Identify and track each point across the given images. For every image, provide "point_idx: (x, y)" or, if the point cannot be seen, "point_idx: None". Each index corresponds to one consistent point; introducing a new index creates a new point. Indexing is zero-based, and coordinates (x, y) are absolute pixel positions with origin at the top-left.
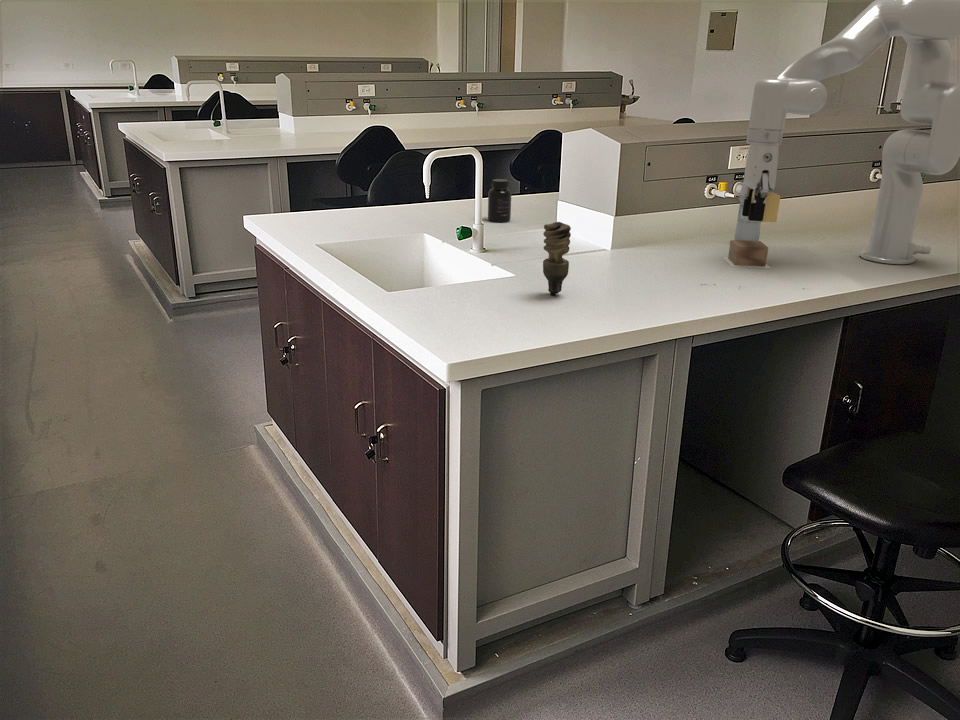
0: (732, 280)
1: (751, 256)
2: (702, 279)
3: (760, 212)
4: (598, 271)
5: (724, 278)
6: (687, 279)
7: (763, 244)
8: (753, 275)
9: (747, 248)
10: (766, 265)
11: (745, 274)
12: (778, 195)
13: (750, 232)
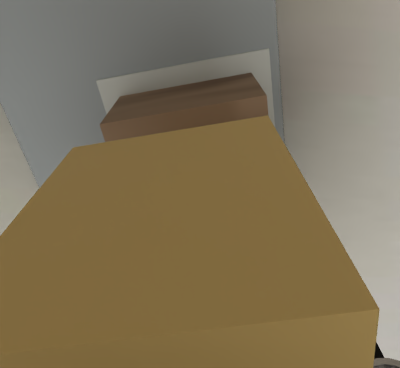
0: (392, 186)
1: None
2: (387, 262)
3: None
4: None
5: (367, 208)
6: (390, 293)
7: (190, 114)
8: (307, 114)
9: None
10: (226, 65)
11: (297, 141)
12: (317, 336)
13: None
